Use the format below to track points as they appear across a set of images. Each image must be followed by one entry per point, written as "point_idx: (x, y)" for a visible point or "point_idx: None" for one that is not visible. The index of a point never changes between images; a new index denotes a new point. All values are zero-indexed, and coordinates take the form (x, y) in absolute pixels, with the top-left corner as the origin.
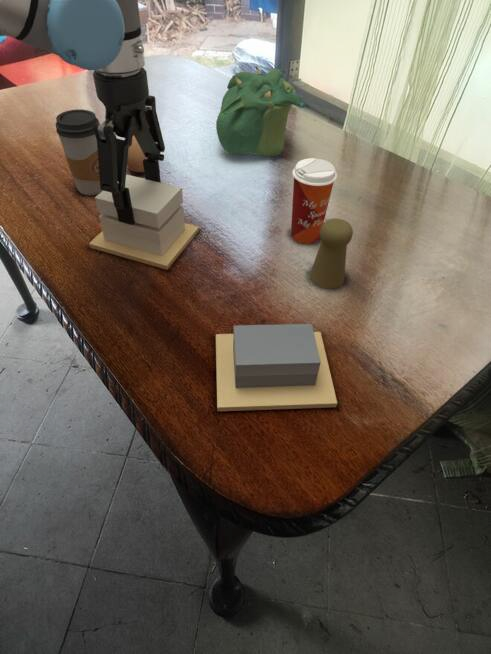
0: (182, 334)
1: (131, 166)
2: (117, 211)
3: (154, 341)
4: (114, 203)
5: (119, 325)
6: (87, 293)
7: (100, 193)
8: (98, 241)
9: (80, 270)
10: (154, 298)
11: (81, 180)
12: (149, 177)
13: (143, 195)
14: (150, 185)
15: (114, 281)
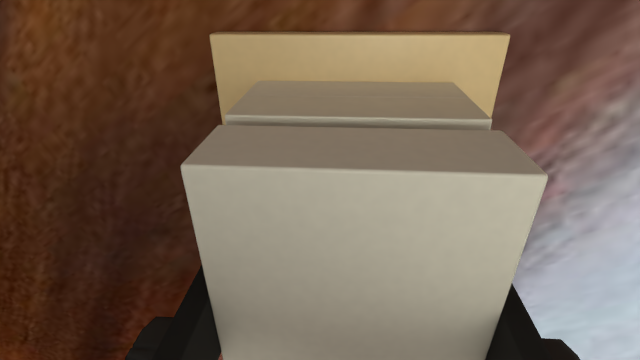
0: (115, 356)
1: None
2: (198, 275)
3: (69, 328)
4: (134, 346)
5: (47, 266)
6: (57, 156)
7: (239, 172)
8: (238, 63)
9: (107, 78)
10: (155, 291)
11: None
12: (501, 346)
13: (332, 356)
14: (435, 352)
15: (139, 194)
